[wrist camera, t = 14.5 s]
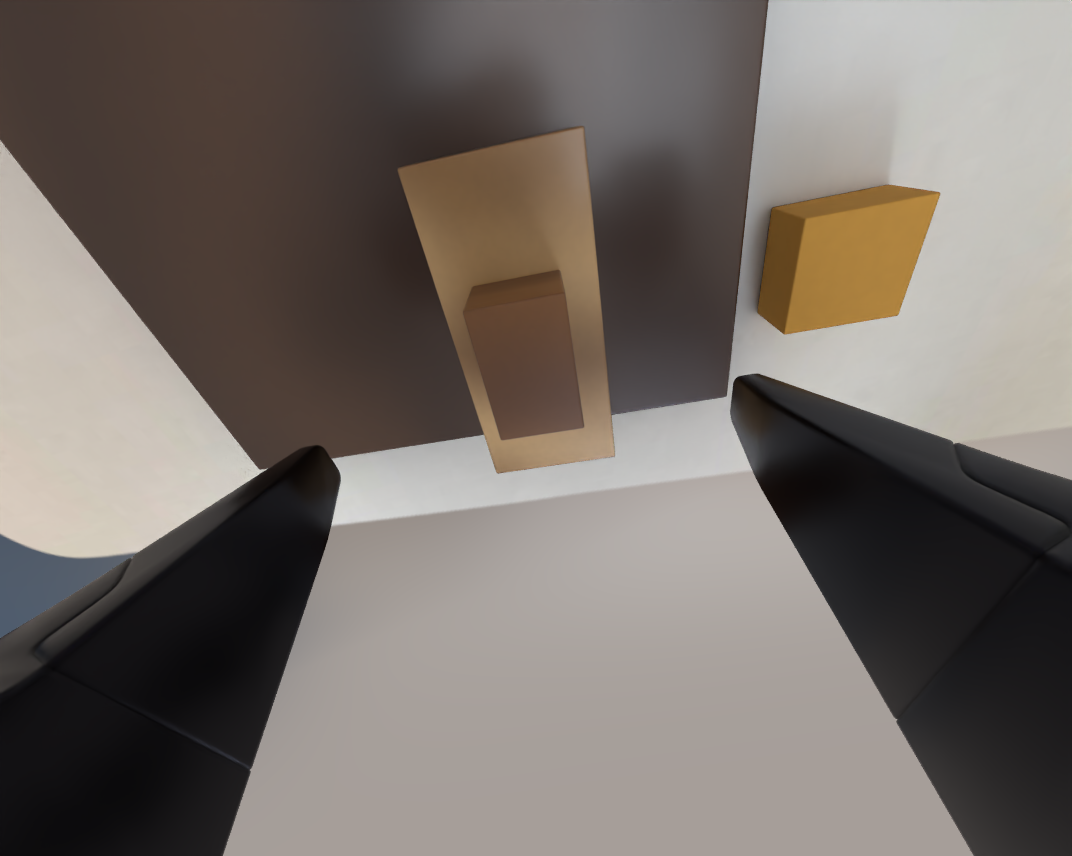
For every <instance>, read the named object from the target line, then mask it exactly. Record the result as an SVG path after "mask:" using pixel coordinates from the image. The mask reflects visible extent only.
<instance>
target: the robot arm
mask: <svg viewBox="0 0 1072 856" xmlns="http://www.w3.org/2000/svg"><path fill="white" fill-rule="evenodd" d="M730 415H731V420H732V423H733V425H734V428H735V430H736V432H737V435H738V437H739V440H740V442H741V444H742V447H743V449H744V451H745V454H746V456H747V459H748V461H749V463H750V466H751V468H752V470H753V473H754V475H755V477H756V479H757V481H758V483H759V485H760V487H761V489H762V491H763V492H764V494H765V496H766V497H767V499H768V501H769V503H770V504H771V506H772V508H773V510H774V511H775V513H776V515H777V516H778V518H779V520H780V522H781V523H782V525H783V527H784V529H785V530H786V532H787V534H788V535H789V537H790V539H791V541H792V542H793V544H794V546H795V548H796V549H797V551H798V553H799V554H800V556H801V558H802V560H803V561H804V563H805V565H806V566H807V568H808V570H809V572H810V573H811V575H812V577H813V578H814V580H815V582H816V584H817V585H818V587H819V589H820V591H821V592H822V594H823V596H824V597H825V599H826V601H827V603H828V604H829V606H830V608H831V609H832V611H833V613H834V615H835V616H836V618H837V620H838V622H839V623H840V625H841V627H842V629H843V630H844V632H845V634H846V635H847V637H848V639H849V641H850V642H851V644H852V646H853V647H854V649H855V651H856V653H857V654H858V656H859V658H860V660H861V661H862V663H863V665H864V667H865V668H866V670H867V672H868V673H869V675H870V677H871V679H872V680H873V682H874V684H875V686H876V687H877V689H878V691H879V692H880V694H881V696H882V698H883V699H884V701H885V703H886V704H887V706H888V708H889V709H890V711H891V713H892V715H893V716H894V717H895V718H896V719H897V724H898V726H899V728H900V729H901V731H902V733H903V735H904V736H905V738H906V740H907V741H908V743H909V745H910V747H911V748H912V750H913V752H914V753H915V755H916V757H917V758H918V760H919V762H920V764H921V766H922V767H923V769H924V771H925V772H926V774H927V776H928V778H929V779H930V781H931V783H932V785H933V786H934V788H935V790H936V791H937V793H938V795H939V796H940V798H941V800H942V802H943V804H944V805H945V807H946V808H947V810H948V812H949V814H950V815H951V817H952V819H953V821H954V822H955V824H956V826H957V828H958V829H959V831H960V833H961V834H962V836H963V838H964V840H965V841H966V843H967V845H968V847H969V848H970V850H971V852H972V853H973V855H974V856H1072V480H1070V479H1066V478H1063V477H1060V476H1057V475H1053V474H1050V473H1047V472H1044V471H1040V470H1037V469H1034V468H1031V467H1028V466H1025V465H1022V464H1019V463H1016V462H1013V461H1010V460H1006V459H1004V458H1001V457H998V456H995V455H991V454H988V453H986V452H982V451H980V450H977V449H974V448H971V447H968V446H966V445H963V444H960V443H955V444H953V442H952V441H951V440H948V439H945V438H942V437H939V436H937V435H934V434H931V433H928V432H925V431H922V430H919V429H916V428H913V427H911V426H908V425H905V424H902V423H899V422H896V421H893V420H890V419H887V418H885V417H882V416H879V415H876V414H873V413H870V412H867V411H864V410H861V409H859V408H856V407H853V406H850V405H847V404H844V403H841V402H838V401H836V400H833V399H830V398H827V397H824V396H821V395H818V394H815V393H812V392H810V391H807V390H804V389H801V388H798V387H795V386H792V385H789V384H787V383H784V382H781V381H778V380H775V379H772V378H769V377H766V376H763V375H761V374H750V375H744V376H739V377H737V378H736V379H735V381H734V383H733V391H732V400H731V409H730ZM340 482H341V477H340V473H339V470H338V469H337V467H336V465H335V464H334V462H333V461H332V459H331V457H330V456H329V454H328V453H327V451H326V450H325V448H324V447H322V446H320V445H313V446H306V447H302V448H300V449H298V450H296V451H295V452H293V453H292V454H290V455H289V456H287V457H286V458H284V459H282V460H281V461H279V462H278V463H276V464H275V465H273V466H272V467H270V468H268V469H267V470H265V471H264V472H262V473H261V474H259V475H258V476H256V477H255V478H253V479H251V480H250V481H248V482H247V483H245V484H244V485H242V486H241V487H239V488H237V489H236V490H234V491H233V492H231V493H230V494H228V495H227V496H225V497H224V498H222V499H220V500H219V501H217V502H216V503H214V504H213V505H211V506H210V507H208V508H206V509H205V510H203V511H202V512H200V513H199V514H197V515H196V516H194V517H193V518H191V519H189V520H188V521H186V522H185V523H183V524H182V525H180V526H179V527H177V528H175V529H174V530H172V531H171V532H169V533H168V534H166V535H165V536H163V537H162V538H160V539H158V540H157V541H155V542H154V543H152V544H151V545H149V546H148V547H146V548H144V549H143V550H141V551H140V552H138V553H137V554H135V555H134V556H133V558H129V559H127V560H126V561H124V562H123V563H121V564H120V565H118V566H116V567H115V568H113V569H112V570H110V571H109V572H107V573H106V574H104V575H102V576H101V577H99V578H98V579H96V580H94V581H93V582H91V583H90V584H88V585H87V586H85V587H83V588H82V589H80V590H79V591H77V592H75V593H74V594H72V595H71V596H69V597H67V598H66V599H64V600H62V601H61V602H59V603H58V604H56V605H54V606H53V607H51V608H49V609H48V610H46V611H45V612H43V613H41V614H40V615H38V616H36V617H35V618H33V619H31V620H30V621H28V622H26V623H25V624H23V625H21V626H20V627H18V628H16V629H15V630H13V631H11V632H10V633H8V634H6V635H5V636H3V637H1V638H0V856H223V854H224V850H225V848H226V845H227V841H228V838H229V836H230V833H231V830H232V826H233V824H234V821H235V817H236V815H237V811H238V809H239V806H240V802H241V800H242V797H243V793H244V790H245V788H246V784H247V782H248V778H249V776H250V769H251V768H252V766H253V763H254V759H255V757H256V753H257V751H258V748H259V744H260V742H261V739H262V736H263V732H264V730H265V727H266V723H267V721H268V718H269V714H270V712H271V709H272V706H273V703H274V700H275V697H276V694H277V691H278V688H279V685H280V682H281V679H282V676H283V673H284V670H285V667H286V664H287V661H288V658H289V655H290V652H291V649H292V646H293V643H294V640H295V637H296V634H297V631H298V628H299V625H300V622H301V619H302V616H303V613H304V610H305V607H306V604H307V600H308V598H309V595H310V592H311V589H312V586H313V582H314V580H315V577H316V574H317V571H318V568H319V565H320V562H321V559H322V556H323V553H324V550H325V547H326V543H327V540H328V536H329V532H330V528H331V523H332V519H333V514H334V510H335V505H336V500H337V496H338V491H339V487H340Z"/></svg>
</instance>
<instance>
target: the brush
mask: <svg viewBox="0 0 1072 856" xmlns="http://www.w3.org/2000/svg"><path fill="white" fill-rule="evenodd" d="M398 174H399V177H400V180H401V183H402V186H403V189H404V192H405V195H406V198H407V201H408V204H409V207H410V210H411V213H412V217H413V220H414V223H415V226H416V229H417V232H418V235H419V238H420V241H421V244H422V247H423V250H424V253H425V256H426V259H427V262H428V265H429V268H430V271H431V274H432V277H433V281H434V284H435V287H436V290H437V293H438V296H439V299H440V302H441V305H442V308H443V311H444V314H445V317H446V320H447V323H448V326H449V329H450V332H451V335H452V338H453V341H454V345H455V348H456V351H457V354H458V357H459V360H460V363H461V366H462V369H463V372H464V375H465V378H466V381H467V384H468V387H469V390H470V393H471V396H472V399H473V402H474V405H475V409H476V412H477V415H478V418H479V421H480V424H481V427H482V430H483V433H484V436H485V439H486V442H487V445H488V448H489V451H490V454H491V457H492V460H493V463H494V466H495V469H496V472H497V473H504V472H511V471H518V470H525V469H532V468H539V467H546V466H552V465H559V464H566V463H573V462H580V461H587V460H594V459H600V458H607V457H614V456H615V449H614V438H613V428H612V417H611V406H610V396H609V385H608V374H607V364H606V353H605V342H604V332H603V321H602V310H601V300H600V289H599V278H598V268H597V257H596V246H595V236H594V225H593V214H592V204H591V193H590V182H589V172H588V161H587V150H586V140H585V129H584V126H574V127H569V128H565V129H560V130H556V131H552V132H547V133H543V134H539V135H534V136H530V137H526V138H521V139H517V140H513V141H508V142H504V143H499V144H495V145H491V146H486V147H482V148H478V149H473V150H469V151H465V152H460V153H456V154H451V155H447V156H443V157H438V158H434V159H430V160H425V161H421V162H417V163H413V164H410V165H406V166H403V167H399V168H398Z"/></svg>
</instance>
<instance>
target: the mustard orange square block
mask: <svg viewBox="0 0 1072 856" xmlns="http://www.w3.org/2000/svg"><path fill="white" fill-rule="evenodd" d="M939 196H940V192H934V191H927V190H921V189H914V188H908V187H901V186H895V185H884V186H879V187H874V188H869V189H864V190H859V191H854V192H849V193H844V194H839V195H834V196H829V197H824V198H818V199H813V200H808V201H803V202H798V203H793V204H788V205H783V206H778V207H773V208H772V211H771V218H770V225H769V232H768V240H767V247H766V254H765V261H764V269H763V276H762V283H761V290H760V297H759V305H758V314H760V315H761V316H762V317H763V318H764V319H766V320H767V321H768V322H769V323H771V324H772V325H773V326H774V327H776V328H777V329H778V330H779V331H780V332H782V333H783V334H790V333H796V332H802V331H808V330H814V329H820V328H826V327H832V326H838V325H844V324H850V323H856V322H862V321H868V320H874V319H880V318H886V317H892V316H897V315H898V314H899V311H900V308H901V305H902V302H903V299H904V297H905V294H906V291H907V288H908V285H909V282H910V279H911V276H912V274H913V271H914V268H915V265H916V262H917V259H918V256H919V254H920V251H921V248H922V245H923V242H924V239H925V236H926V234H927V231H928V228H929V225H930V222H931V219H932V216H933V213H934V211H935V208H936V205H937V202H938V199H939Z"/></svg>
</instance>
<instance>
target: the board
mask: <svg viewBox="0 0 1072 856" xmlns="http://www.w3.org/2000/svg"><path fill="white" fill-rule="evenodd" d="M767 9H768V0H0V140H1V142H2V143H3V144H4V145H5V147H6V148H7V149H8V151H9V152H10V153H11V154H12V156H13V157H14V158H15V159H16V161H17V162H18V163H19V165H20V166H21V167H22V168H23V170H24V171H25V172H26V173H27V175H28V176H29V177H30V179H31V180H32V181H33V182H34V184H35V185H36V186H37V187H38V189H39V190H40V191H41V193H42V194H43V195H44V196H45V198H46V199H47V200H48V201H49V203H50V204H51V205H52V207H53V208H54V209H55V210H56V212H57V213H58V214H59V215H60V217H61V218H62V219H63V220H64V222H65V223H66V224H67V226H68V227H69V228H70V229H71V231H72V232H73V233H74V234H75V236H76V237H77V238H78V240H79V241H80V242H81V243H82V245H83V246H84V247H85V248H86V250H87V251H88V252H89V254H90V255H91V256H92V257H93V259H94V260H95V261H96V262H97V264H98V265H99V266H100V268H101V269H102V270H103V271H104V273H105V274H106V275H107V276H108V278H109V279H110V280H111V282H112V283H113V284H114V285H115V287H116V288H117V289H118V290H119V292H120V293H121V294H122V296H123V297H124V298H125V299H126V301H127V302H128V303H129V304H130V306H131V307H132V308H133V310H134V311H135V312H136V313H137V315H138V316H139V317H140V318H141V320H142V321H143V322H144V324H145V325H146V326H147V327H148V329H149V330H150V331H151V332H152V334H153V335H154V336H155V338H156V339H157V340H158V341H159V343H160V344H161V345H162V346H163V348H164V349H165V350H166V352H167V353H168V354H169V355H170V357H171V358H172V359H173V360H174V362H175V363H176V364H177V366H178V367H179V368H180V369H181V371H182V372H183V373H184V374H185V376H186V377H187V378H188V380H189V381H190V382H191V383H192V385H193V386H194V387H195V388H196V390H197V391H198V392H199V394H200V395H201V396H202V397H203V399H204V400H205V401H206V402H207V404H208V405H209V406H210V408H211V409H212V410H213V411H214V413H215V414H216V415H217V416H218V418H219V419H220V420H221V422H222V423H223V424H224V425H225V427H226V428H227V429H228V430H229V432H230V433H231V434H232V436H233V437H234V438H235V439H236V441H237V442H238V443H239V444H240V446H241V447H242V448H243V450H244V451H245V452H246V453H247V455H248V456H249V457H250V458H251V460H252V461H253V462H254V464H255V465H256V466H257V467H258V469H267V468H270V467H272V466H273V465H275V464H276V463H278V462H279V461H281V460H282V459H284V458H286V457H287V456H289V455H290V454H292V453H293V452H295V451H296V450H298V449H300V448H302V447H306V446H313V445H320V446H322V447H324V448H325V450H326V451H327V453H328V454H329V456H330V457H331V458H338V457H344V456H351V455H357V454H363V453H370V452H376V451H383V450H389V449H395V448H402V447H408V446H415V445H421V444H427V443H434V442H440V441H447V440H453V439H459V438H466V437H472V436H479V435H484V433H483V430H482V427H481V424H480V421H479V418H478V415H477V412H476V409H475V405H474V402H473V399H472V396H471V393H470V390H469V387H468V384H467V381H466V378H465V375H464V372H463V369H462V366H461V363H460V360H459V357H458V354H457V351H456V348H455V345H454V341H453V338H452V335H451V332H450V329H449V326H448V323H447V320H446V317H445V314H444V311H443V308H442V305H441V302H440V299H439V296H438V293H437V290H436V287H435V284H434V281H433V277H432V274H431V271H430V268H429V265H428V262H427V259H426V256H425V253H424V250H423V247H422V244H421V241H420V238H419V235H418V232H417V229H416V226H415V223H414V220H413V217H412V213H411V210H410V207H409V204H408V201H407V198H406V195H405V192H404V189H403V186H402V183H401V180H400V177H399V174H398V168H399V167H403V166H406V165H410V164H413V163H417V162H421V161H425V160H430V159H434V158H438V157H443V156H447V155H451V154H456V153H460V152H465V151H469V150H473V149H478V148H482V147H486V146H491V145H495V144H499V143H504V142H508V141H513V140H517V139H521V138H526V137H530V136H534V135H539V134H543V133H547V132H552V131H556V130H560V129H565V128H569V127H574V126H584V129H585V140H586V150H587V161H588V172H589V182H590V193H591V204H592V214H593V225H594V236H595V246H596V257H597V268H598V278H599V289H600V300H601V310H602V321H603V332H604V342H605V353H606V364H607V374H608V385H609V396H610V406H611V415H613V414H619V413H626V412H632V411H639V410H645V409H651V408H658V407H664V406H671V405H677V404H683V403H690V402H696V401H703V400H709V399H715V398H722V397H726V396H727V389H728V380H729V370H730V361H731V351H732V341H733V332H734V322H735V313H736V303H737V294H738V284H739V275H740V265H741V256H742V246H743V237H744V227H745V218H746V208H747V199H748V189H749V180H750V170H751V161H752V151H753V142H754V132H755V123H756V113H757V104H758V94H759V85H760V75H761V66H762V56H763V47H764V37H765V28H766V18H767Z"/></svg>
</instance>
